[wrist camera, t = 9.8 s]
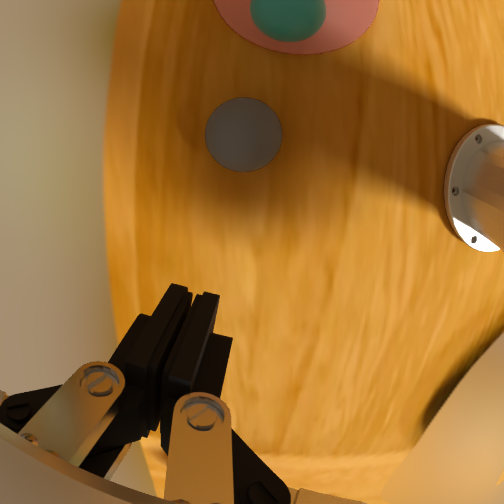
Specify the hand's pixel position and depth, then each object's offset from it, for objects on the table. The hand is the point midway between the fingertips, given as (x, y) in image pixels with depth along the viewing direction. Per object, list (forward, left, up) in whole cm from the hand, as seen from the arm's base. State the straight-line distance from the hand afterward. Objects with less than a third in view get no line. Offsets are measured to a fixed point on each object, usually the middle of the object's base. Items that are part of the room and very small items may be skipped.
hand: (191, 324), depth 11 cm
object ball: (-6, -15, -14) cm, 22 cm away
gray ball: (-1, -6, -14) cm, 16 cm away
